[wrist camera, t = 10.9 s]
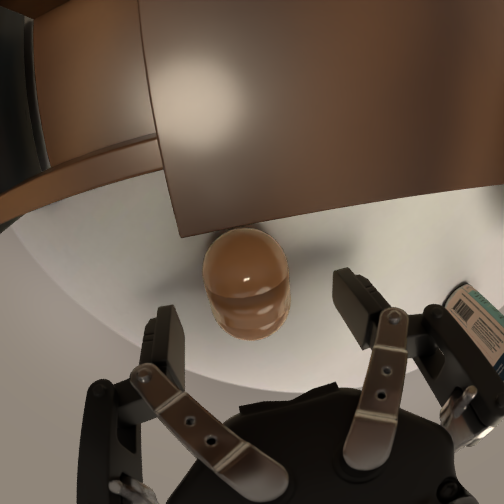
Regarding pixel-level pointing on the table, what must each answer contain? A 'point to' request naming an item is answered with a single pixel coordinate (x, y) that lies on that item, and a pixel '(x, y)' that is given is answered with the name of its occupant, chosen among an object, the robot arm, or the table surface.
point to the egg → (247, 283)
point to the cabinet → (321, 103)
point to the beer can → (480, 323)
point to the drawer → (73, 101)
